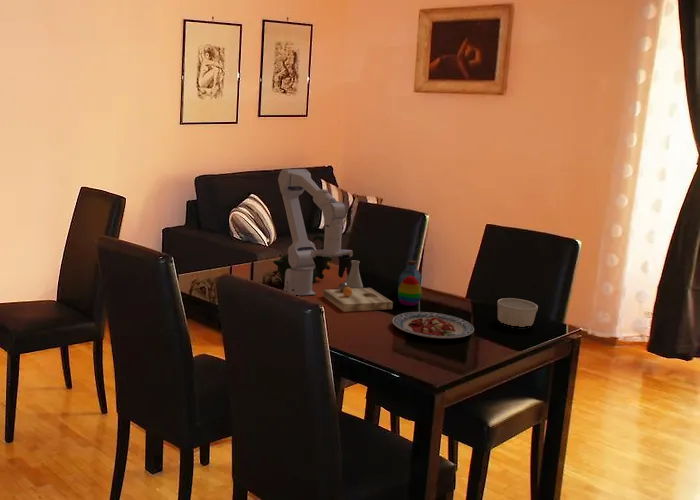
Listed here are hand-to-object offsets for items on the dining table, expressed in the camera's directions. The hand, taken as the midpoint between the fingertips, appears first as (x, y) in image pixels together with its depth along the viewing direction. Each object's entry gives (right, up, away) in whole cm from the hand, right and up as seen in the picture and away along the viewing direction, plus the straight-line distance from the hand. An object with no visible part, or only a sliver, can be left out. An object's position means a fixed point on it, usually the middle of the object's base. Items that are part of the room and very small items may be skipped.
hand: (330, 277), depth 272 cm
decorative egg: (+27, -10, +10) cm, 31 cm away
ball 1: (+4, -4, +10) cm, 11 cm away
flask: (+8, -5, +26) cm, 28 cm away
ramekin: (+62, -15, -3) cm, 64 cm away
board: (+9, -9, +6) cm, 14 cm away
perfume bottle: (+28, -7, +25) cm, 38 cm away
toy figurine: (-12, -3, +28) cm, 31 cm away
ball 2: (+6, -5, +4) cm, 9 cm away
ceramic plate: (+33, -16, -17) cm, 40 cm away
